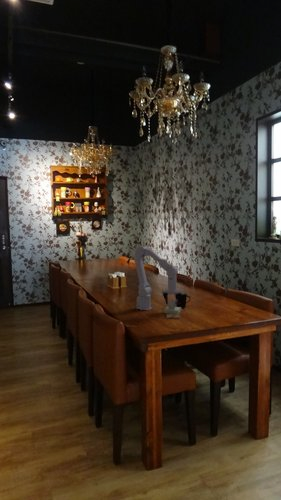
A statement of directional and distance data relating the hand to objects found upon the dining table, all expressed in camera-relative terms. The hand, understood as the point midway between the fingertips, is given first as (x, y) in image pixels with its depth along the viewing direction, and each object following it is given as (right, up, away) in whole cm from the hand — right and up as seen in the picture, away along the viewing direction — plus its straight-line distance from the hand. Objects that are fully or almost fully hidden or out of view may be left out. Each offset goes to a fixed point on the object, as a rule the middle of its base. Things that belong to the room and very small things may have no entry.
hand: (172, 304), depth 224 cm
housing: (0, -3, 0) cm, 3 cm away
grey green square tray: (0, -5, 0) cm, 5 cm away
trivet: (-1, -6, -13) cm, 14 cm away
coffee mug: (+8, -4, +11) cm, 15 cm away
